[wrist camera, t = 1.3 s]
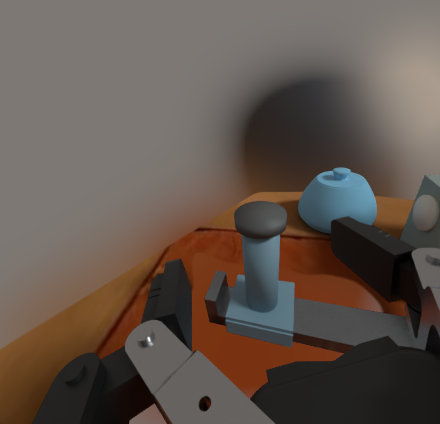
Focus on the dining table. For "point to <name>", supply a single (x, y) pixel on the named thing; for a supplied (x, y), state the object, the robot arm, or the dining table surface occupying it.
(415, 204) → the cabinet
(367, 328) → the rail
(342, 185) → the sugar bowl
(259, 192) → the dining table surface
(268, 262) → the carriage
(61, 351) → the dining table surface
